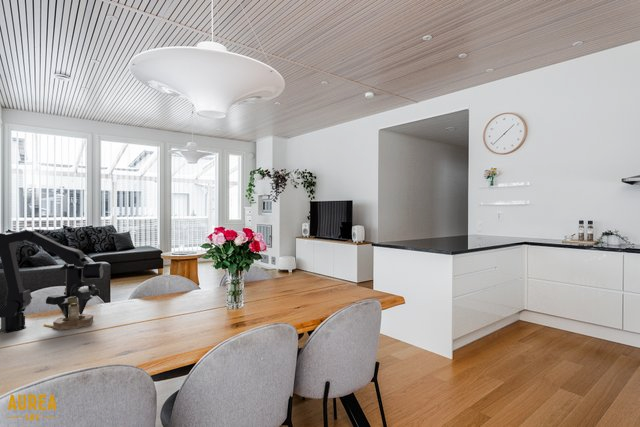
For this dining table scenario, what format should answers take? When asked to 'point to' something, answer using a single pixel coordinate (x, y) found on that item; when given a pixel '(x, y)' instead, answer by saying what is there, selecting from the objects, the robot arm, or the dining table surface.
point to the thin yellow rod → (48, 325)
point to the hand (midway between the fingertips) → (73, 316)
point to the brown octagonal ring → (73, 322)
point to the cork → (72, 300)
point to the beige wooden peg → (73, 312)
